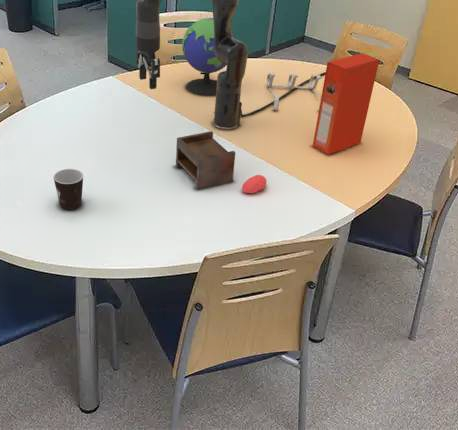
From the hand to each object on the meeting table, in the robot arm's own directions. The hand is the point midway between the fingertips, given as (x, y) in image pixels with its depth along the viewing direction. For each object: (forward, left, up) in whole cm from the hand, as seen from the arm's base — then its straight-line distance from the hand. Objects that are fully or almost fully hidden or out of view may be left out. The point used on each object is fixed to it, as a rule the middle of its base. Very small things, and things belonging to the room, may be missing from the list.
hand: (147, 83), depth 190 cm
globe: (-48, -46, -26) cm, 71 cm away
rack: (-12, +19, -26) cm, 35 cm away
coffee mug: (+34, +21, -26) cm, 48 cm away
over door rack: (-78, -22, -26) cm, 85 cm away
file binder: (-68, +19, -26) cm, 75 cm away
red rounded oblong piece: (-23, +34, -26) cm, 49 cm away
